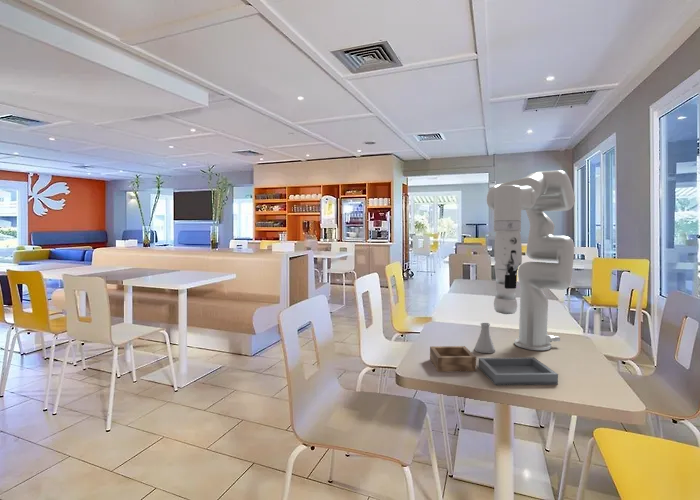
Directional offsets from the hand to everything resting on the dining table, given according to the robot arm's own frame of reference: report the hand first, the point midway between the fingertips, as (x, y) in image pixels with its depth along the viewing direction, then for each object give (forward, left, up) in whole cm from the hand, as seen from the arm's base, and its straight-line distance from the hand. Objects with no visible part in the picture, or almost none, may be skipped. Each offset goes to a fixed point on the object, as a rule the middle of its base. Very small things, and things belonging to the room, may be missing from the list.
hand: (505, 285), depth 119 cm
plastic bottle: (0, 0, -9) cm, 9 cm away
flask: (-2, -21, -27) cm, 35 cm away
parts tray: (-3, +2, -27) cm, 27 cm away
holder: (+14, -7, -27) cm, 31 cm away
